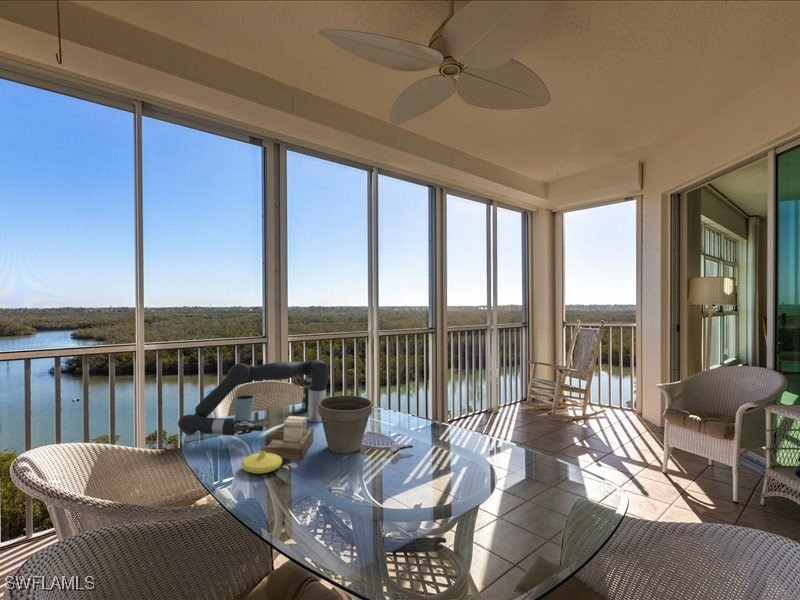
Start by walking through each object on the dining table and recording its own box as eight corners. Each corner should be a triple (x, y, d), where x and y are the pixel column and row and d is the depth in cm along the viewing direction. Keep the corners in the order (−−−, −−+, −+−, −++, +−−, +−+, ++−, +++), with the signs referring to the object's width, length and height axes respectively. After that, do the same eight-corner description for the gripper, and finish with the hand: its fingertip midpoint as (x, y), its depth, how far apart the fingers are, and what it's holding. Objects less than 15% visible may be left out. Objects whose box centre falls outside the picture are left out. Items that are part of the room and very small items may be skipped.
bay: (275, 439, 199) (276, 425, 199) (312, 441, 199) (313, 427, 199) (260, 457, 178) (261, 441, 178) (302, 459, 178) (303, 443, 178)
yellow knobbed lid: (267, 457, 178) (268, 441, 178) (289, 469, 168) (290, 452, 168) (233, 468, 166) (234, 451, 166) (254, 482, 156) (255, 463, 156)
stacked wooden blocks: (287, 441, 192) (288, 415, 192) (305, 442, 192) (306, 416, 192) (282, 448, 184) (283, 421, 184) (301, 449, 184) (302, 422, 184)
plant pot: (318, 460, 178) (320, 410, 177) (314, 439, 202) (316, 395, 201) (374, 457, 185) (377, 409, 184) (364, 437, 208) (367, 394, 208)
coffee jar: (314, 405, 256) (316, 376, 256) (319, 409, 250) (321, 378, 249) (299, 407, 251) (301, 377, 250) (304, 411, 244) (305, 380, 244)
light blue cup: (229, 419, 223) (230, 397, 223) (241, 414, 233) (242, 393, 232) (245, 422, 220) (246, 400, 220) (257, 417, 230) (258, 395, 229)
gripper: (218, 423, 181) (258, 425, 181) (231, 413, 195) (268, 415, 195) (218, 440, 182) (257, 441, 182) (230, 429, 195) (267, 431, 195)
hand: (263, 428), depth 188 cm, fingers closed
